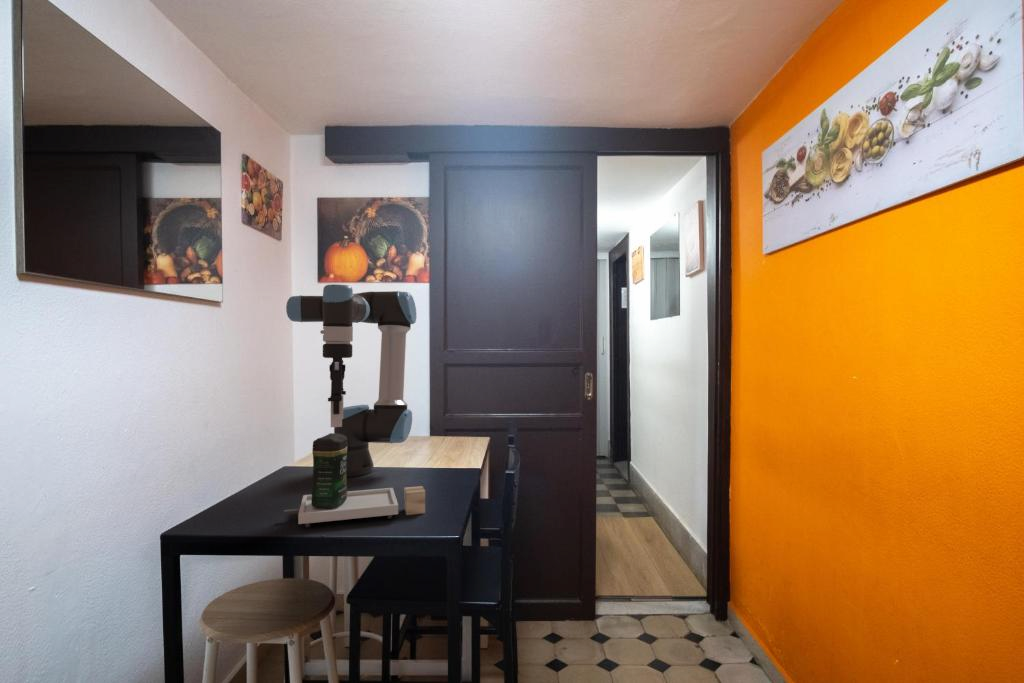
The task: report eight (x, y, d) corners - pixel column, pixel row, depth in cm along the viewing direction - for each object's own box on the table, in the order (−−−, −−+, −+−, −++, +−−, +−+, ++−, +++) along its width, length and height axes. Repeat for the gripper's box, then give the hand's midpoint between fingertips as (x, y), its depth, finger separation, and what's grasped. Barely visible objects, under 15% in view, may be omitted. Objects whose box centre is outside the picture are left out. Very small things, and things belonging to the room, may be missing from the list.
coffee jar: (337, 510, 130) (337, 438, 130) (307, 509, 130) (307, 437, 130) (351, 498, 139) (351, 431, 139) (323, 498, 140) (323, 431, 140)
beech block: (404, 509, 140) (404, 487, 140) (422, 507, 142) (422, 486, 142) (406, 515, 135) (406, 492, 135) (425, 513, 137) (425, 491, 137)
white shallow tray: (287, 511, 138) (287, 496, 138) (392, 501, 146) (392, 487, 146) (280, 532, 123) (280, 516, 123) (398, 520, 131) (398, 504, 131)
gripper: (325, 342, 145) (325, 416, 146) (319, 343, 122) (318, 431, 122) (352, 342, 148) (352, 415, 148) (352, 343, 124) (351, 429, 124)
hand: (337, 422), depth 135 cm, fingers open, 13 cm apart
